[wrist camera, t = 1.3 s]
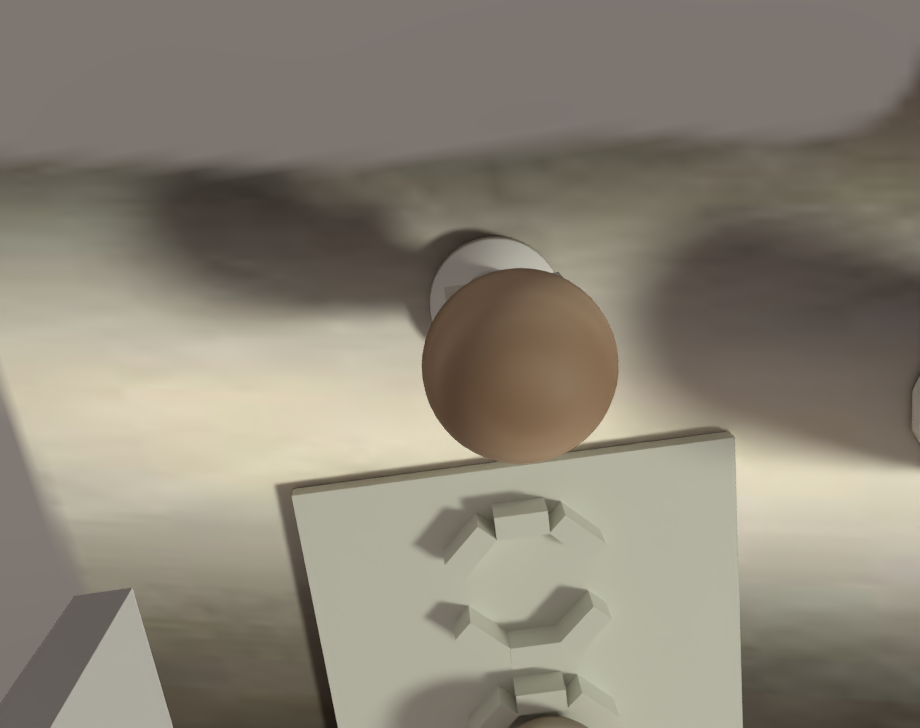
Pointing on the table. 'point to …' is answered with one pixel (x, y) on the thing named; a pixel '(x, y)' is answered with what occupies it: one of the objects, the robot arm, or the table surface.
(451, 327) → the light brown ball
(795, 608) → the table surface
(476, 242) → the egg cup
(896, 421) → the table surface
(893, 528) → the table surface
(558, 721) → the egg cream mid
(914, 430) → the white cup
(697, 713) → the tray
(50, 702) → the robot arm
